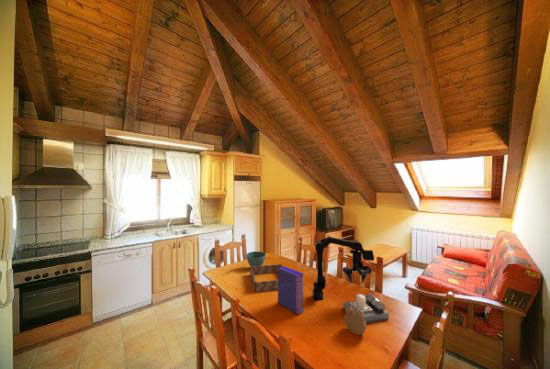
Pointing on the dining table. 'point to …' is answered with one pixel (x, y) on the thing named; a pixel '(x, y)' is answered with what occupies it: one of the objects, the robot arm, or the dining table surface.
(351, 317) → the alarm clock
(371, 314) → the desk telephone
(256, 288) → the serving tray rim
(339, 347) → the dining table surface
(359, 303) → the pump
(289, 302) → the cereal box
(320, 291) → the robot arm
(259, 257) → the plant pot
